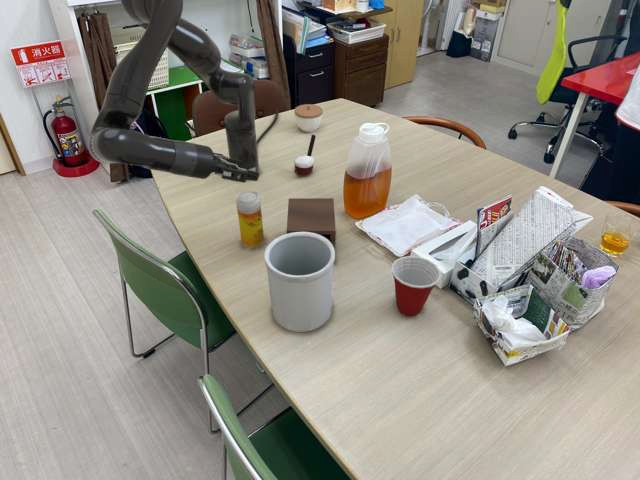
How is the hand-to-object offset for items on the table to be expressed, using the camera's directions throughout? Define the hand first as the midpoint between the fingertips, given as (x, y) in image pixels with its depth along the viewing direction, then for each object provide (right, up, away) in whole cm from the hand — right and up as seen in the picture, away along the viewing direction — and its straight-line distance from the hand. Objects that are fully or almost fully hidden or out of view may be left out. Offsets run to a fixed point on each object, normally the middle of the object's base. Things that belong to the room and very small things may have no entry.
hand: (249, 170), depth 113 cm
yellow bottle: (-1, -18, +13) cm, 22 cm away
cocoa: (+12, +5, +41) cm, 43 cm away
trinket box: (+13, +26, +66) cm, 72 cm away
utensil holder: (+13, -33, -6) cm, 36 cm away
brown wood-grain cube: (+15, -19, +11) cm, 27 cm away
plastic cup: (+38, -33, -5) cm, 51 cm away
